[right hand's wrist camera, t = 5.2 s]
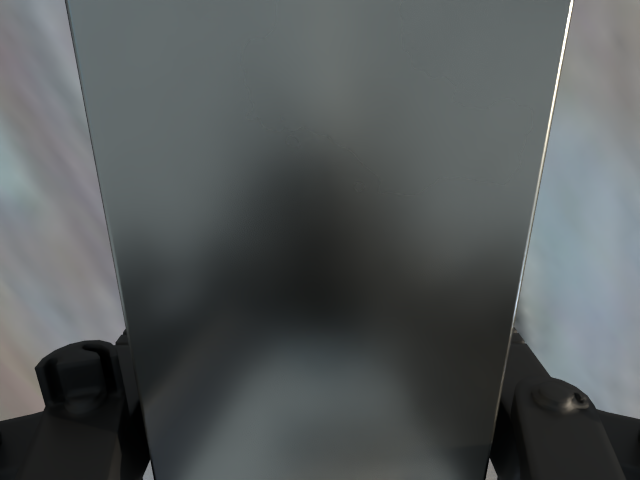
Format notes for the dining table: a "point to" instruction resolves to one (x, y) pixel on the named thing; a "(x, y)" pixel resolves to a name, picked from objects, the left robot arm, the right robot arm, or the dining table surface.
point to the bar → (319, 223)
